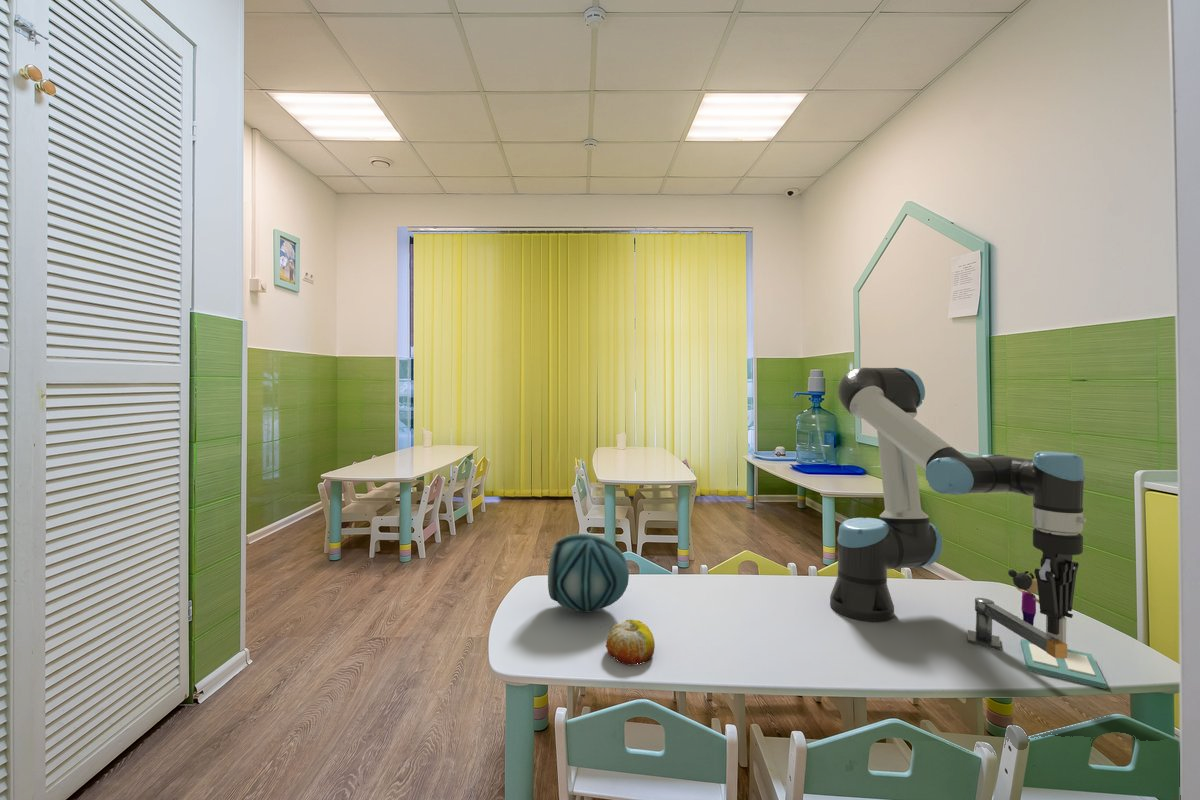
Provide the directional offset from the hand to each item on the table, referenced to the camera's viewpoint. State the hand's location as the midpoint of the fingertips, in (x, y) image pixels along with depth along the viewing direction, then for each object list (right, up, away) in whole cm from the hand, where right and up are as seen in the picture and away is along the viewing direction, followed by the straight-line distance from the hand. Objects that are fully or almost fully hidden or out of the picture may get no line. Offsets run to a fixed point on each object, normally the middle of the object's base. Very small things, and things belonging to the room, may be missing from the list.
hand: (1055, 648), depth 104 cm
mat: (+7, -7, +7) cm, 12 cm away
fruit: (-84, -6, +10) cm, 85 cm away
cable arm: (-2, 0, +7) cm, 8 cm away
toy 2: (+10, -7, +21) cm, 24 cm away
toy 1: (-93, -6, +32) cm, 99 cm away
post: (-2, -6, +17) cm, 18 cm away
